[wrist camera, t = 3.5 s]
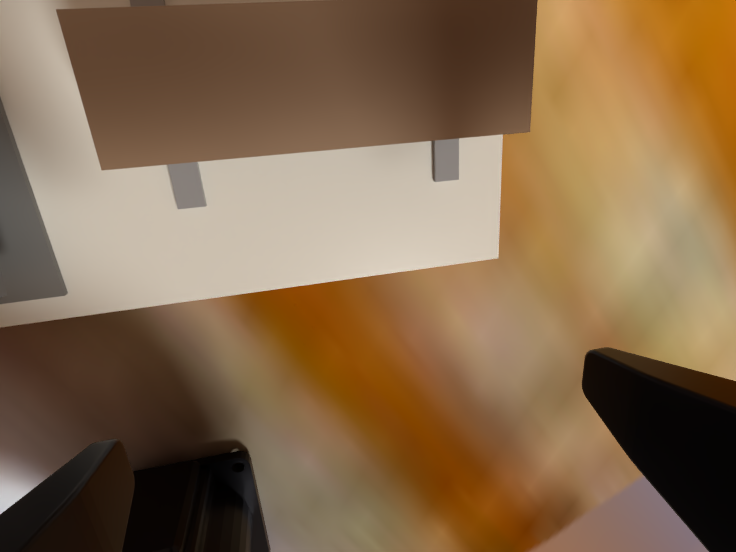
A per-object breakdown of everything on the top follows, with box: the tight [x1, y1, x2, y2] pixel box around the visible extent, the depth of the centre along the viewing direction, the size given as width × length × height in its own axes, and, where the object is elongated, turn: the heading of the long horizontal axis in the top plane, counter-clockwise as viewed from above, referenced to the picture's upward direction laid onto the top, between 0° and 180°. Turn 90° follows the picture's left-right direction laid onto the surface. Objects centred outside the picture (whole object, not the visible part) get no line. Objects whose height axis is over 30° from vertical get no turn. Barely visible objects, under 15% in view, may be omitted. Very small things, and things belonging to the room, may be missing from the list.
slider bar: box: [56, 0, 537, 170], centre depth 11 cm, size 3×10×3 cm, turn 94°
